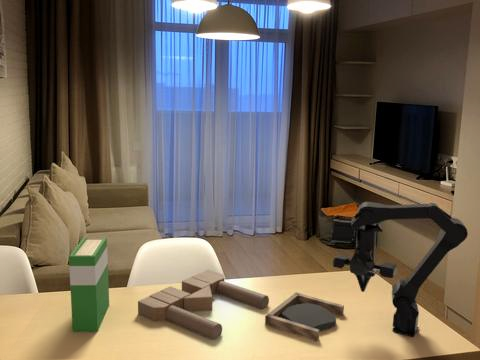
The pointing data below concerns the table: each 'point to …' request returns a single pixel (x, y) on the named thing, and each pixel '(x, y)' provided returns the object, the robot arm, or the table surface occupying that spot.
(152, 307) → the wooden block construction
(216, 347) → the table surface
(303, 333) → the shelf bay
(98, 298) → the hardback book
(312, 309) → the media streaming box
